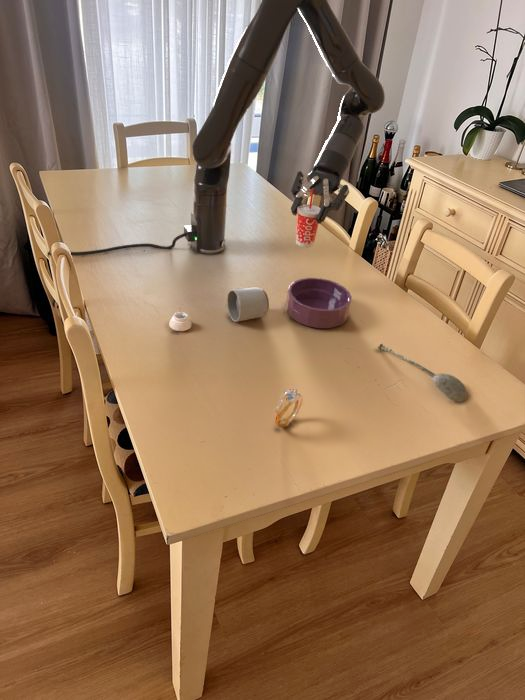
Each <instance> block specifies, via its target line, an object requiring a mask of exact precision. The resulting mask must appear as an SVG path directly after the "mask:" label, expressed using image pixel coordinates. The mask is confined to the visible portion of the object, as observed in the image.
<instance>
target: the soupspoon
mask: <svg viewBox="0 0 525 700" xmlns="http://www.w3.org/2000/svg"><path fill="white" fill-rule="evenodd" d="M377 350H378V351H385V352H388V353H389V354H392V355H394V356H396V357H398V358H400V359H402V360H403V361H405V362H407V363H408V364H410V365H412V366H414V367H416V368H418V369H419V370H421V371H422V372H424V373H426V374H427V375H429V376H430V377H432V381H433V383H434V385H435V386H436V387H437V389H439V390H440V391H441V392H442V393H443V394H444V395H445V396H446V397H447V398H449V399H450V400H452V401H455V402H458V403H461V402H462V403H463V402H465V401H466V400H467V398H468V390H467V388H466V386H465V385H464V383H463V381H461V380H460V379H458V377H456V376H454V375H451V374H449V373H434V372H432V371H431V370H430V369H427V368H426V367H425V366H423V365H420V364H419V363H417V362H416V361H413V360H411V359H409V358H407V357H405V356H404V355H401V354H399V353H398V352H396V351H394V350H392V349H391V348H388V347H387V346H385V345H384V344H383V343H379V345H377Z"/></svg>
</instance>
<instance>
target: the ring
mask: <svg viewBox="0 0 525 700" xmlns="http://www.w3.org/2000/svg"><path fill="white" fill-rule="evenodd" d="M298 391H299V390H298V389H297V388H296V389H294V388H293V389H289V390H288V389H286V390H284V391H283V392H282V393H281V396H280V398H279V401H278V403H277V404H276V405H277V406H276V408H275V411H274V414H273V423H274V425H276V427H278V428H280V429H281V428H282V429H283V428H285V427H288V426H289V425H290V423H291V422H293V420H294V419H296V417H297V415H298V414H299V412H300V411H301V408H302V405H303V400H304V399H303V398H304V397H303V395H302V394H301V393H298ZM284 402H288V403H287V404H286V405H285V406H284V407H283V404H284ZM293 404H294V407H293V410H292V412H291V414H290V415H289V416H288V417H287V418H284V419H283V420H282V418H283V416H284V415H285V414H286V412H287V411H288V409H289V408H290V407H291V406H292V405H293ZM282 407H283V408H282ZM281 420H282V421H281Z"/></svg>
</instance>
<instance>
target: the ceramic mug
mask: <svg viewBox="0 0 525 700" xmlns="http://www.w3.org/2000/svg"><path fill="white" fill-rule="evenodd" d="M226 307H227V311H228V314H229V317H230V318H231V320H232V322H236V323H238V322H242V321H248V320H254V319H259V318H262V317H265V316H266V315H267V313H269V308H270V300H269V296H268V293H267V292H266V290H265V289H263V288H262V287H243V288H233V289H230V290H229V291H228V293H227V297H226Z"/></svg>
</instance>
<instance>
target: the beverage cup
mask: <svg viewBox="0 0 525 700" xmlns="http://www.w3.org/2000/svg"><path fill="white" fill-rule="evenodd" d="M313 192H314V189H312V192H311V196H310V198H309V199H310V200H309V203H306V204H302V205H300V206H298V207H297V212H298V213H297V219H296V220H297V221H296V233H295V244H296V245H297V246H299V247H301V248H312V247H314V245H315V240H316V236H317V232H318V227H319V225H320V224H319V223H317V221H316V218H317V216H318V214H319V212H320V210H321V208H322V207H319V206H317V205H314V204H313V199H314V194H313Z"/></svg>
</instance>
